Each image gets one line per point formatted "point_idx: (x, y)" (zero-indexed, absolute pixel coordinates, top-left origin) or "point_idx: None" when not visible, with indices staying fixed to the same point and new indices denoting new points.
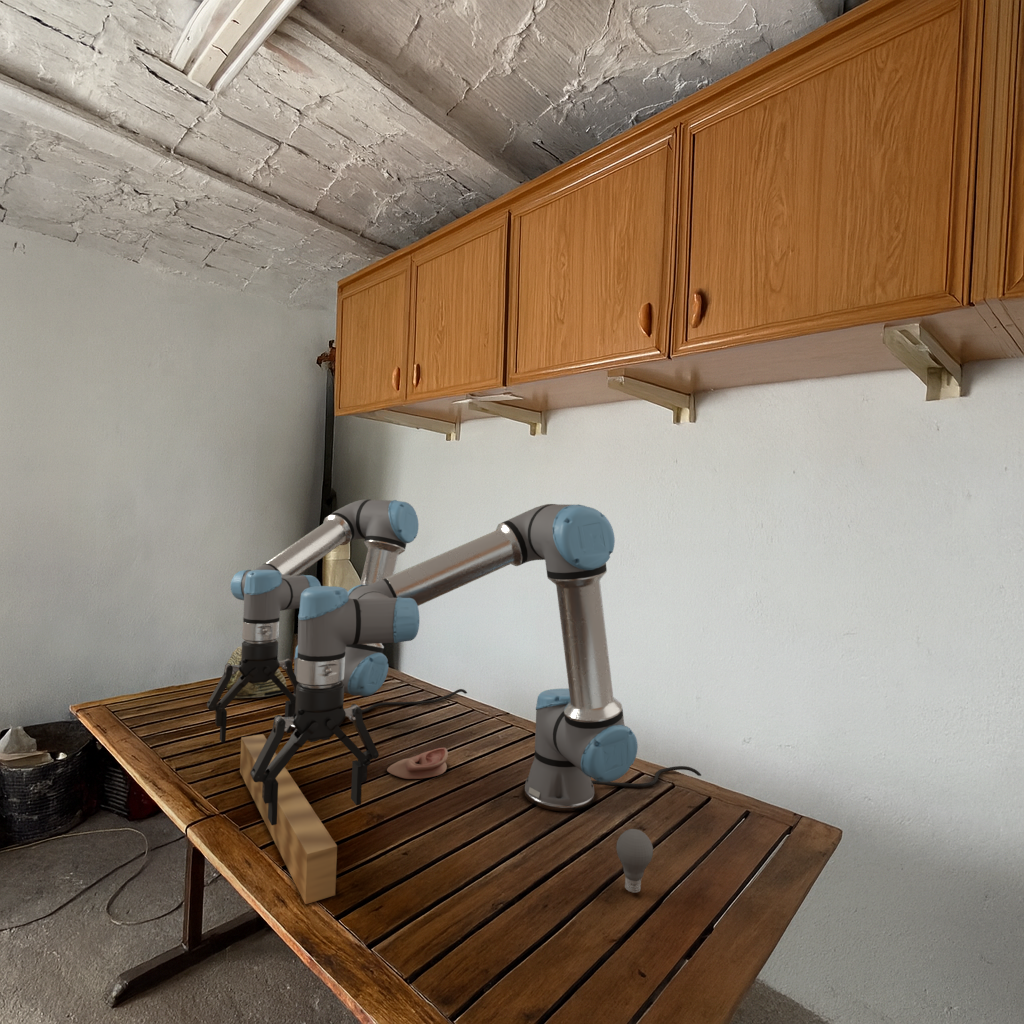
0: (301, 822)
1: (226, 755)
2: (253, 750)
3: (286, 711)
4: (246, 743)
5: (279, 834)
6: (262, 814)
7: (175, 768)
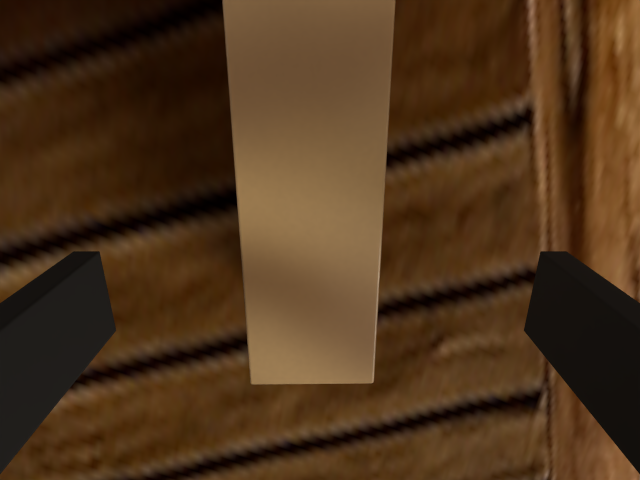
0: None
1: (365, 438)
2: (358, 150)
3: (4, 403)
4: (369, 285)
5: None
6: None
7: (538, 407)
